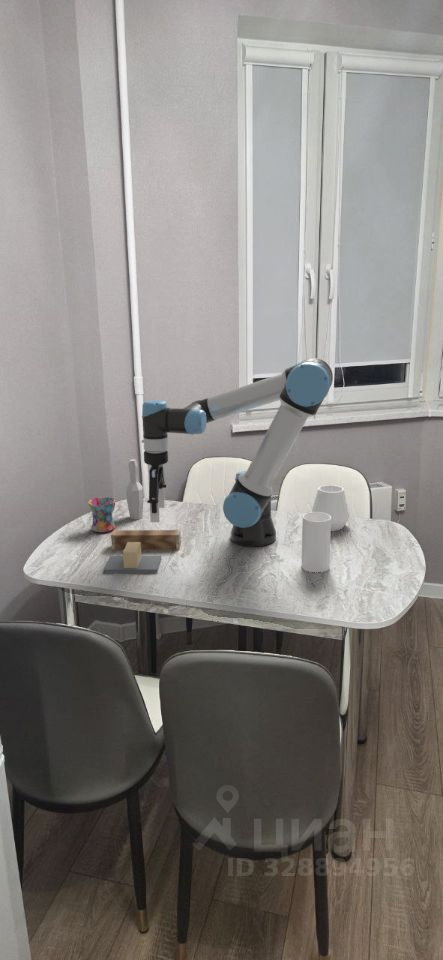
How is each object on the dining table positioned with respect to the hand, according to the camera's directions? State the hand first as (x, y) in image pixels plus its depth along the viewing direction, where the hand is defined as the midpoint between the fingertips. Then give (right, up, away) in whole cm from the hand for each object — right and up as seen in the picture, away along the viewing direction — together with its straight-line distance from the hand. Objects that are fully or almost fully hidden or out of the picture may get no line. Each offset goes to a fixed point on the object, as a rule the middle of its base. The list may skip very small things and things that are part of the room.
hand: (157, 514), depth 198 cm
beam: (-4, -11, +3) cm, 12 cm away
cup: (+49, -15, -14) cm, 53 cm away
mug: (-20, -6, +20) cm, 29 cm away
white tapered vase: (+59, -5, +19) cm, 62 cm away
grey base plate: (-6, -15, -11) cm, 20 cm away
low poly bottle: (-11, -3, +30) cm, 32 cm away
